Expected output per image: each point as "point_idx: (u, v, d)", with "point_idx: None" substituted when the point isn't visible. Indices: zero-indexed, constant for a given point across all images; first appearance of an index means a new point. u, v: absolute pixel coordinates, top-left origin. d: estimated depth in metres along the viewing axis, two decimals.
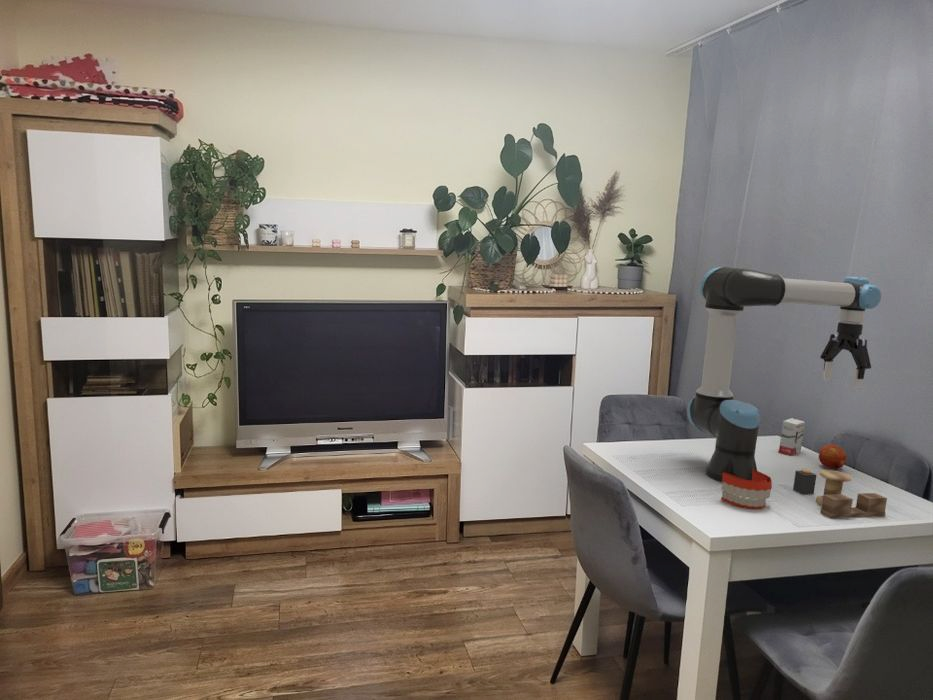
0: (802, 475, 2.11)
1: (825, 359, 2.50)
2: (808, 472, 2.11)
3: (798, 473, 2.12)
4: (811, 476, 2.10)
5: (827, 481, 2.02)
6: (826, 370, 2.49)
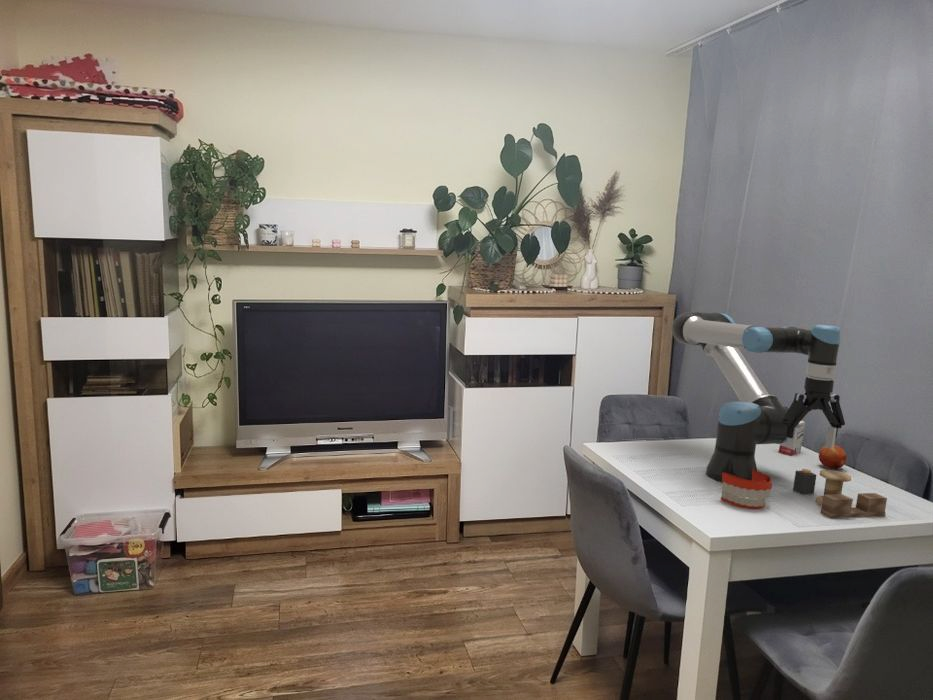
0: (802, 475, 2.11)
1: None
2: (808, 472, 2.11)
3: (798, 473, 2.12)
4: (811, 476, 2.10)
5: (827, 481, 2.02)
6: (827, 435, 2.13)
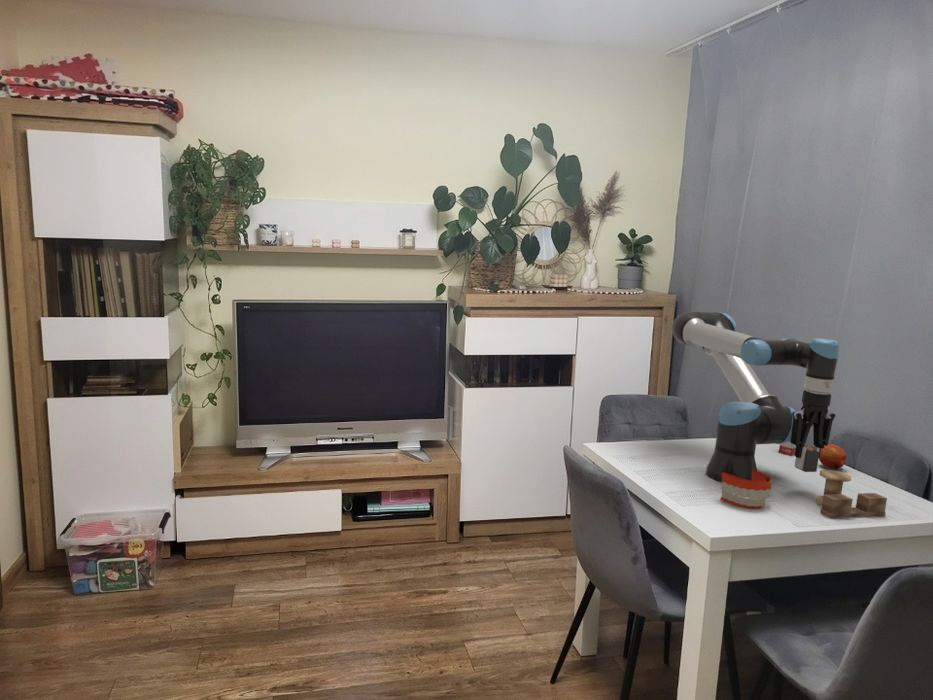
0: None
1: None
2: (811, 449, 2.10)
3: None
4: (814, 453, 2.09)
5: (827, 481, 2.02)
6: None
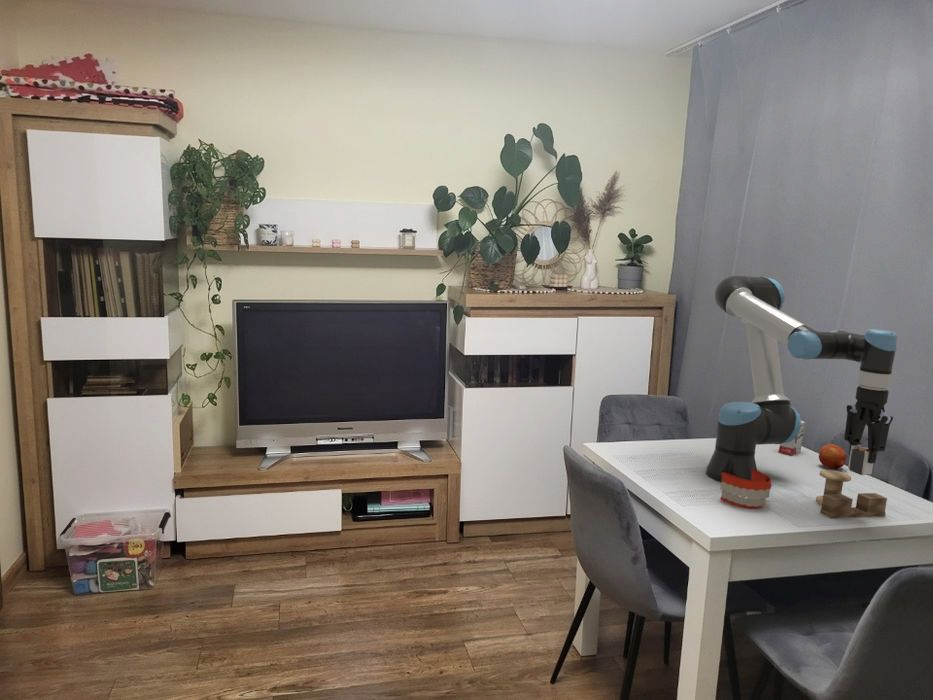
0: None
1: (851, 441, 1.96)
2: None
3: None
4: None
5: (827, 481, 2.02)
6: None
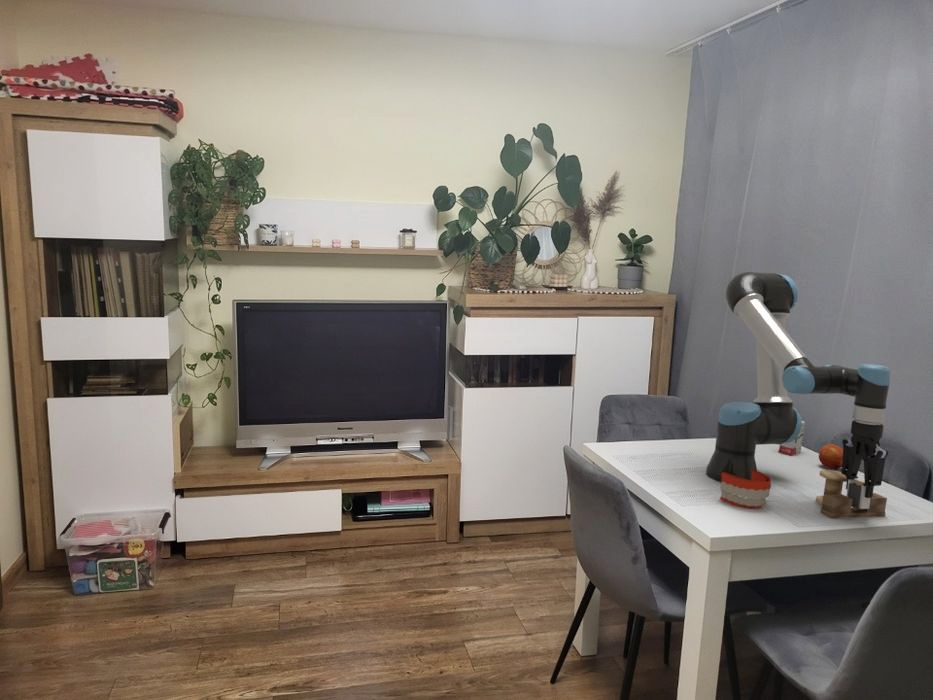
0: None
1: (848, 476, 1.96)
2: None
3: None
4: None
5: (827, 481, 2.02)
6: None
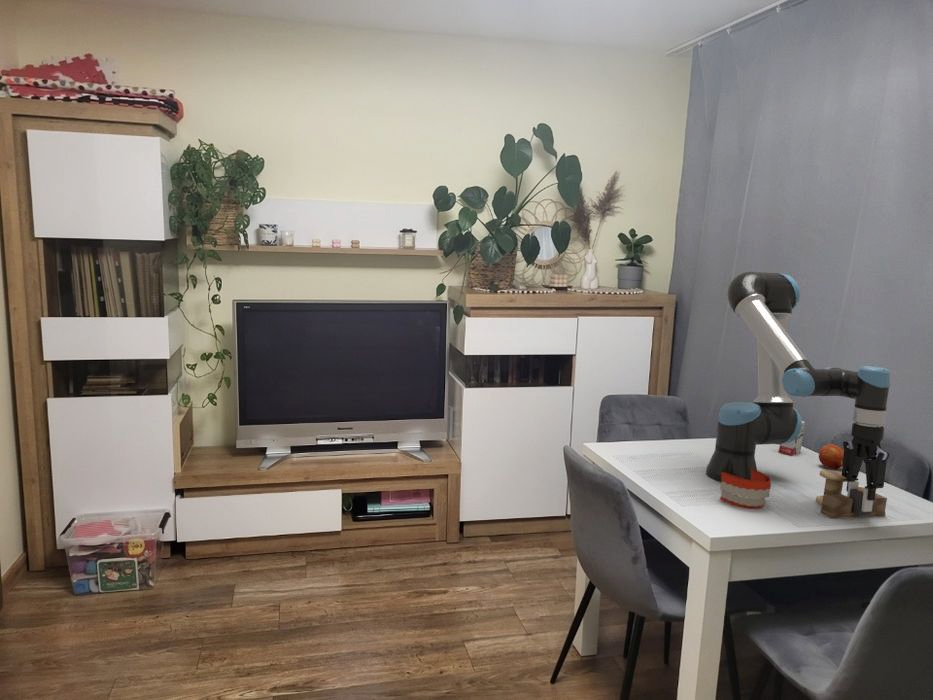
0: None
1: (848, 478, 1.96)
2: None
3: None
4: None
5: (827, 481, 2.02)
6: None
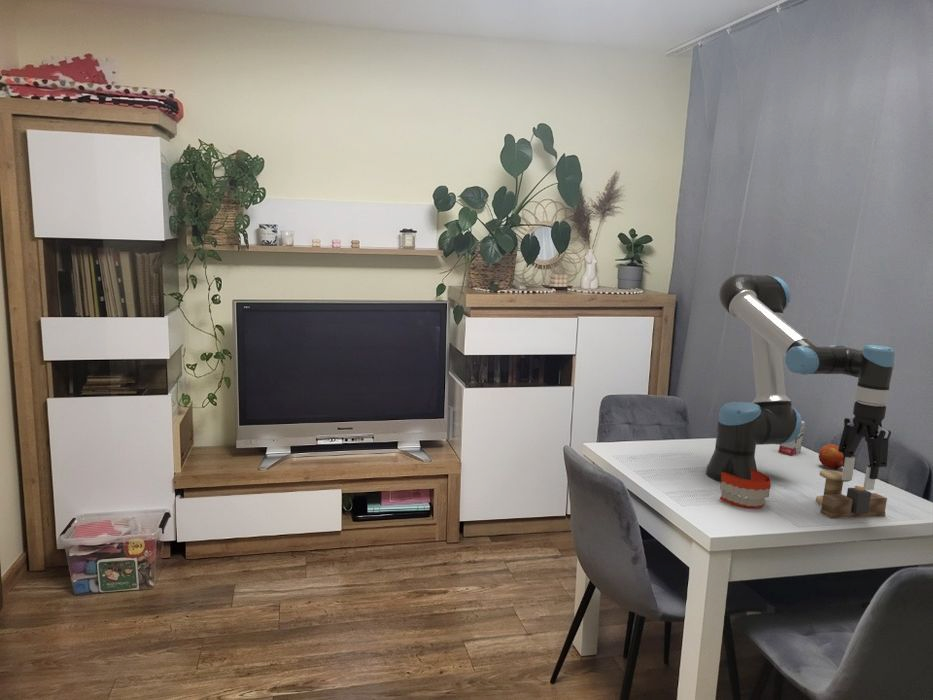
0: (867, 494, 1.93)
1: (845, 453, 1.98)
2: None
3: (862, 494, 1.93)
4: None
5: (827, 481, 2.02)
6: (846, 468, 1.97)
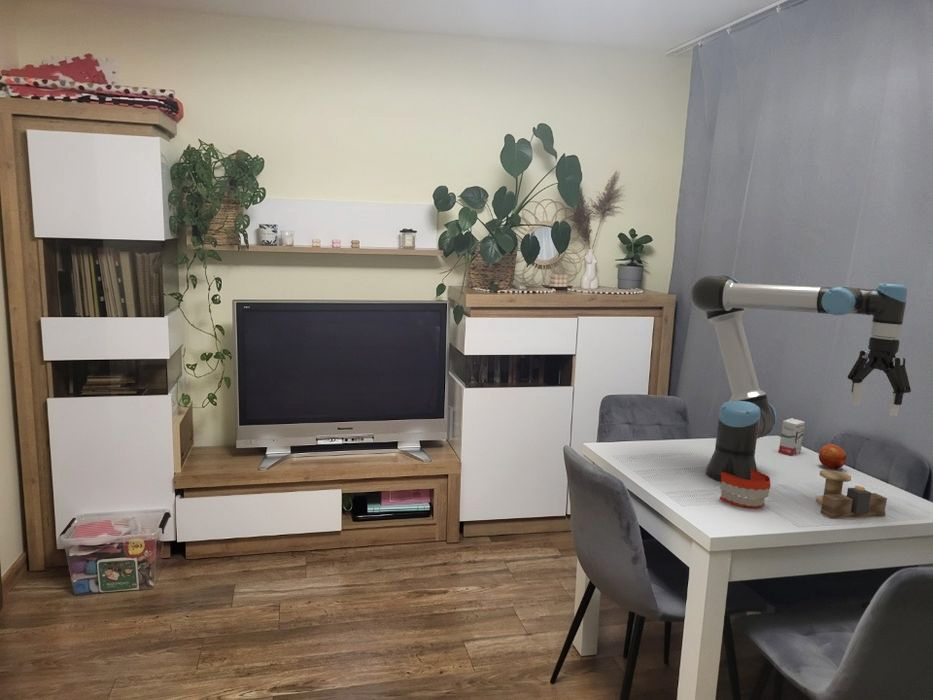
0: (867, 494, 1.93)
1: (853, 380, 2.13)
2: None
3: (862, 494, 1.93)
4: None
5: (827, 481, 2.02)
6: (855, 393, 2.13)
